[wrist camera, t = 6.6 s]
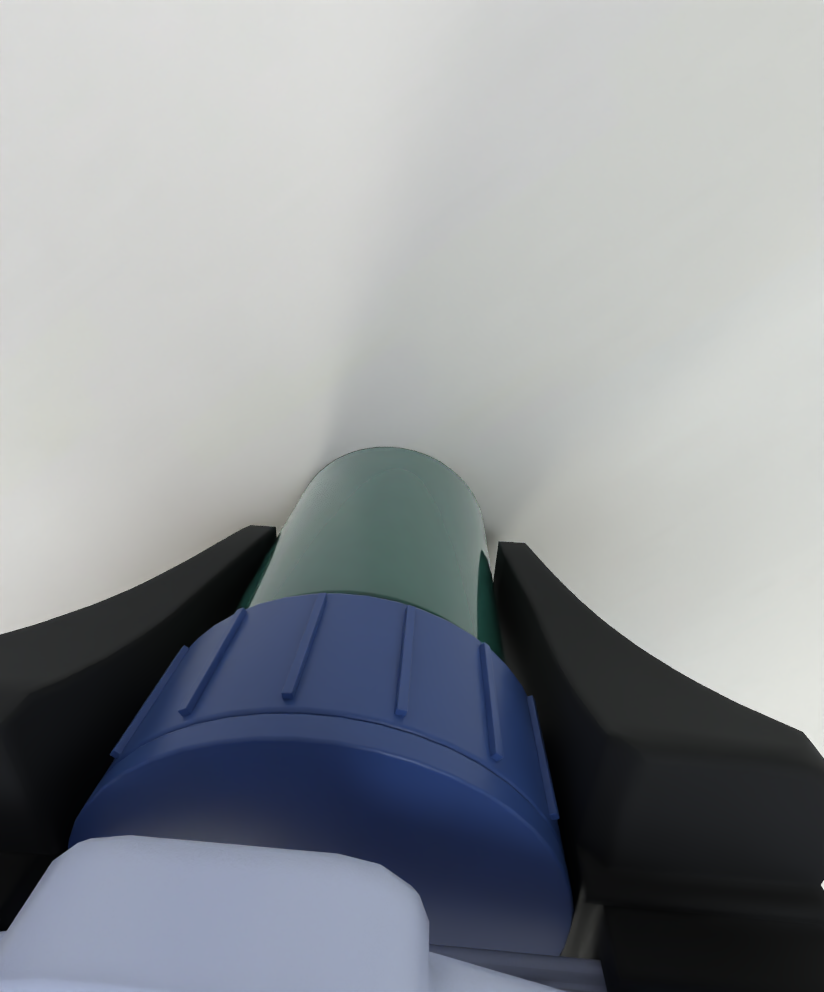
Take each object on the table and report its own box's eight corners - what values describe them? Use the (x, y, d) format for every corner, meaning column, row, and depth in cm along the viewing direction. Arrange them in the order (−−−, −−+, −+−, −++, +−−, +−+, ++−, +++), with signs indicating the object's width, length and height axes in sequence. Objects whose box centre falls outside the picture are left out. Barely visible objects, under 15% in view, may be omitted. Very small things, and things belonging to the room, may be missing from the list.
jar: (258, 529, 14) (49, 838, 6) (389, 404, 12) (308, 628, 5) (389, 639, 15) (341, 997, 8) (523, 540, 13) (621, 877, 6)
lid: (332, 892, 9) (302, 1064, 7) (86, 707, 8) (-40, 864, 6) (611, 781, 8) (671, 964, 6) (377, 510, 6) (346, 637, 4)
